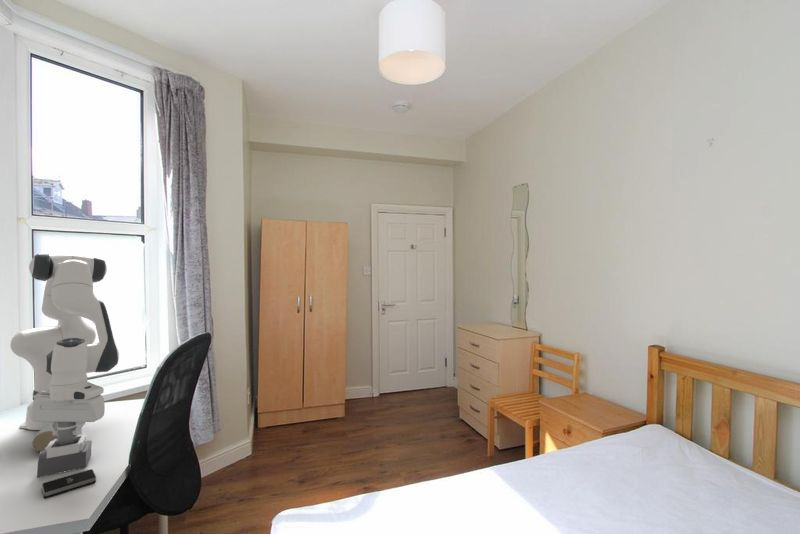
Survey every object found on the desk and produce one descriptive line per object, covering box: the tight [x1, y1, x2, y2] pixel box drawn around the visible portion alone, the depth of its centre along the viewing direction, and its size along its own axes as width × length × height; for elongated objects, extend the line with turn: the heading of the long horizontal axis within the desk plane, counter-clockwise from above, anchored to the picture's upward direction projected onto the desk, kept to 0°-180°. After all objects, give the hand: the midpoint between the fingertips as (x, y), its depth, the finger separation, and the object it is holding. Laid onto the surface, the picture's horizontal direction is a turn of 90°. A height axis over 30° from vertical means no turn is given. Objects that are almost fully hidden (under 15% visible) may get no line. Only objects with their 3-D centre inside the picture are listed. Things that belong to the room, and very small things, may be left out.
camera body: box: [36, 433, 92, 478], centre depth 115 cm, size 9×11×8 cm
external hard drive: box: [41, 468, 97, 499], centre depth 104 cm, size 7×11×2 cm, turn 138°
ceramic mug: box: [31, 424, 57, 453], centre depth 128 cm, size 11×8×8 cm
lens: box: [57, 422, 78, 447], centre depth 115 cm, size 5×5×8 cm
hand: (67, 435), depth 115 cm, fingers closed on lens, 5 cm apart
